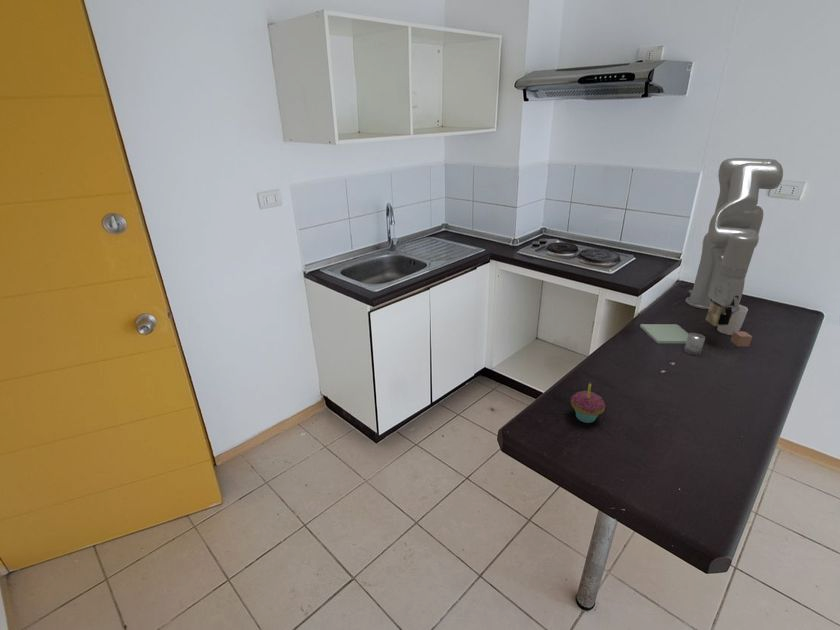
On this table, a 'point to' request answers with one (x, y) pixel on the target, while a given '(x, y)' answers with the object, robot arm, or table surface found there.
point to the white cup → (734, 321)
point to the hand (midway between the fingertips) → (717, 320)
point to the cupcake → (587, 405)
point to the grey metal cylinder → (694, 343)
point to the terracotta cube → (741, 338)
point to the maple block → (715, 314)
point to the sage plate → (665, 333)
